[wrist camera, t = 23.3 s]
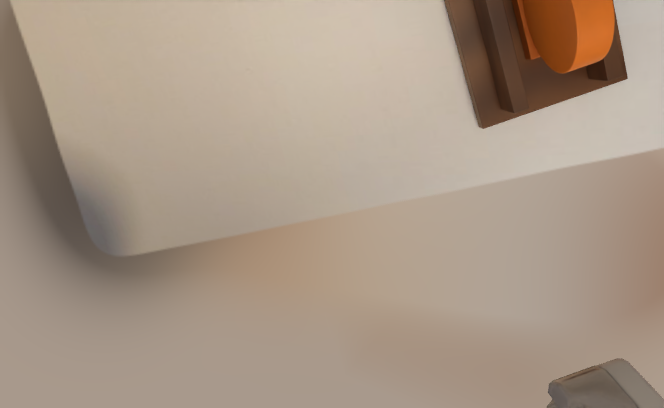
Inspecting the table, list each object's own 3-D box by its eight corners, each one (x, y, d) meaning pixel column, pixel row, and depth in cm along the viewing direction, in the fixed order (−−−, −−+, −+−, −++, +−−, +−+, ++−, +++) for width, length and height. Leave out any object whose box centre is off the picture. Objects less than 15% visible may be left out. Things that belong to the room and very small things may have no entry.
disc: (542, -46, 40) (605, -72, 32) (565, 59, 43) (630, 61, 34) (503, -32, 41) (555, -54, 32) (528, 72, 43) (583, 78, 34)
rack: (620, 77, 44) (650, 80, 40) (478, 126, 45) (494, 134, 41) (584, -103, 40) (614, -120, 36) (431, -46, 41) (443, -57, 37)
